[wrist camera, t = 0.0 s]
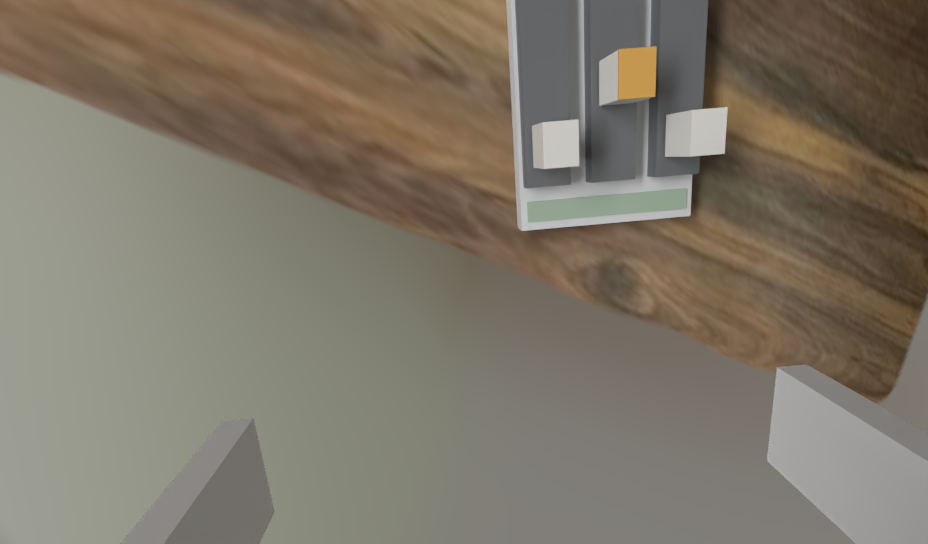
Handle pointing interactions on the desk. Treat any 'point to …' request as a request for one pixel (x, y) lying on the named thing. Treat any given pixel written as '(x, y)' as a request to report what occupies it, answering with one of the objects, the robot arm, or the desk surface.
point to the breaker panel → (603, 108)
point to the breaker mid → (627, 76)
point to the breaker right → (696, 132)
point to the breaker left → (556, 144)
